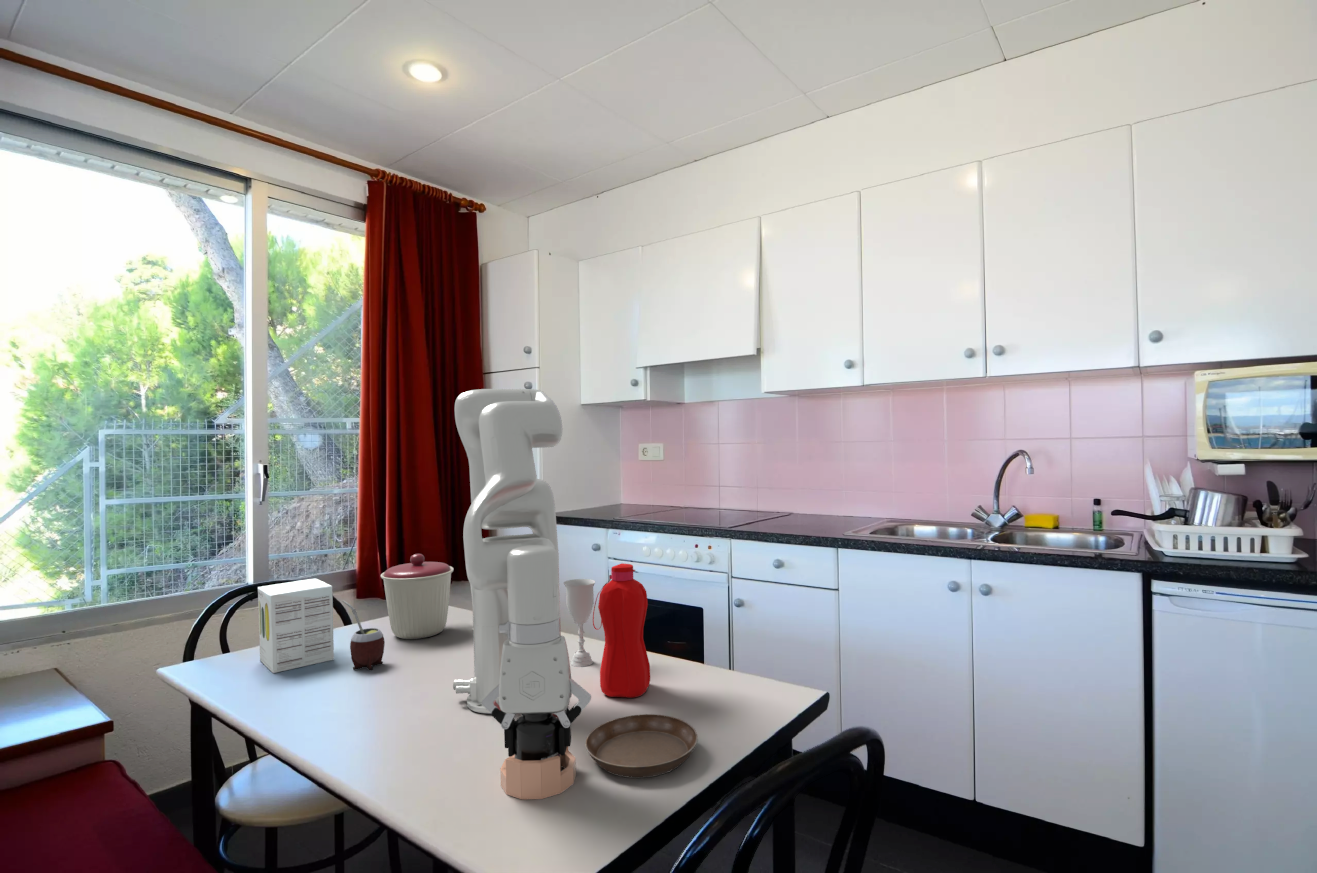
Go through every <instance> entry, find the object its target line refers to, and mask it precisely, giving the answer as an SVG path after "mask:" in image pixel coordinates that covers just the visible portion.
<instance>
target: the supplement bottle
mask: <svg viewBox="0 0 1317 873" xmlns="http://www.w3.org/2000/svg"><path fill="white" fill-rule="evenodd" d="M515 721H516V722H515V724H514V757H515V758H516V759H519V760H522V761H535V760H544V759H547V758H551V757H555V756H559V757H560V772H561V771H562V770H563V767H562V764H561V754H559V727H560V725H561V722H560V720H559V718H558V716H557V714H556V713H537V714H520V715H519V716H518V717H517V718H516V719H515Z"/></svg>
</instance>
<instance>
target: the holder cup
mask: <svg viewBox="0 0 1317 873" xmlns="http://www.w3.org/2000/svg"><path fill="white" fill-rule="evenodd" d="M569 750H570V749H569V747H567V749H566V752H565V755H561V764H562V771H561V772H560V757H559V756H555V757H551V758H547V759H544V760H535V761H522V760H519V759H516V758H515V757H514V755H513V756H512V757H509V756H508V757H507V758H505V759H504V761H503V763H502V765H501V767H500V770H499V771H500V775H499V776H500V787H501V788H502V789H503V791H504V793H505V794H506V795H507V796H510V797H514V798H517V799H519V800H543V799H547V798H549V797H552V796H556V795H559V794H562V793H563V792H564V791H566V790H567V789H569V788H570V787H571V786H573V785H574V783H575V779H576V777H577V765H576V764H577V760H576V759H577V758H576V756H575V755H573V753H572V752H571V751H569Z"/></svg>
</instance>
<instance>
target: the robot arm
mask: <svg viewBox="0 0 1317 873" xmlns="http://www.w3.org/2000/svg"><path fill="white" fill-rule="evenodd" d="M454 420H455V425H456V428H457V432H458V435H459V437H460V440H461V443H462V445H463V447H464V450H465V453H466V457H467V459H468V466H469V467H468V468H469V482H470V483H469V486H470V503H471V504H470V506H469V508H468V510H467V513H466V515H465V518H464V523H463V529H462V530H463V533H462V534H463V536H462V538H463V550H464V561H465V570H466V576H467V580H468V582H469V585H470V592H471V593H470V594H471V603H472V605H471V606H472V628H473V629H472V631H473V632H472V633H473V634H472V635H473V636H472V637H473V660H474V661H473V668H474V671H473V674H474V677H471V678H470V679H453V680H454V681H453V683H452V684H453V685H452V688H453V689H452V690H454V691H455V693H456V694H467V695H468V696H467V697H466V706H467V708H468V709H469V710H470V711H473V712H476V713H479V714H480V713H481V714H490V715H491V716H492V718H494V720H496V721H497V722H498V723H499V724H500V727H501V729H503V732H504V734H503V735H504V749H508V750H507V752H508V753H507V755H508V757H512V756H513V755H514V724H515V722H516V719H515V716H516V715H522V714H537V713H556V714H557V716H558V718H559V720H560V722H561V725H560V727H559V754H561V755H565V752H566V749H567V747H568V748H569V747H571V746H572V745H571V743H572V728H571V727H572V726H571V725H572V724H573V722H574V721H575V720H576V719H577V718H578V717H579V716H580V715H581V713H582V712H583V710H584V709H585V708H586V707H587V706H588V705H589V704H590V702H591V700H592V695H591V693H590V692H588V691H587V690H586V689H585V688H584V687H582V686H581V685H580V684H578V683H577V682H576V681H575V680H574V679H573V678H572V672H571V664H570V663H571V661H570V655H569V649H568V645H567V639H566V637H565V636H564V635H561V632H562V629H561V600H560V598H561V597H560V596H561V595H560V566H559V565H560V560H559V559H560V556H559V554H560V553H559V540H558V529H557V528H558V527H557V515H556V503H555V496H554V493H553V489H552V487H551V486H550V483H548V482H547V481H546V480H544V479H541V478H538V476H537V470H536V465H535V459H534V453H533V452H534V451H533V449H541V448H542V449H543V448H554V447H556V446H558V444H560V441H561V440H562V437H563V420H562V416H561V413H560V410H559V408H558V407H557V405H556V404H555V402H554V400H553V399H552V398H551V397H549V395H548V394H546V392H544V391H542V390H540V389H534V388H533V389H532V388H530V389H528V388H522V389H521V388H519V389H518V388H481V389H479V388H478V389H471V390H467V391H465V392H461V393H460V394H459V395H458V396H457V397H456V399H455V402H454ZM519 528H529V529H530V530H531V532H532V533H527V534H526V533H525V534H523V533H522V534H509V535H498V536H487V537H485V538H484V537H483V536H482V534H483V533H482V529H483V530H502V529H503V530H504V529H519ZM572 695H573V696H574V697H576V698H577V702H576V703H575V704H573V706H572V707H571V708H570V706H569V705H570V703H571V702H570V701H571V698H572Z"/></svg>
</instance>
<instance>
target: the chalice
mask: <svg viewBox="0 0 1317 873" xmlns="http://www.w3.org/2000/svg"><path fill="white" fill-rule="evenodd" d="M563 584H564V587H565V594H566V595H565V597H566V601H565V603H566V604H565V605H566V607H567V610H568V612H569V614H570V616H571V618H572V621H573V623H575V624H577V627H578V631H577V635H578V639H577V641H576V642H577V643H578V649H577V650H576V651H575V652H574V653H573V655H572V658H571V661H570V666H573V667H579V668H580V667H587V666H591V665H592V664H594V661H593V659H592V656H591V655H590V652H589V651H587V650H586V649H585V648H584V644H585V642H586V640H585V638H584V634H585V631H584V624H585V623H587V622H588V620H589V619H590V615H591V613H592V611H593V609H594V605H595V602H594V596H595V595H594V586H595V584H596V581H595V580H594V579H589V578H588V579H587V578H576V579H569V580H566V581H564V582H563Z"/></svg>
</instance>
